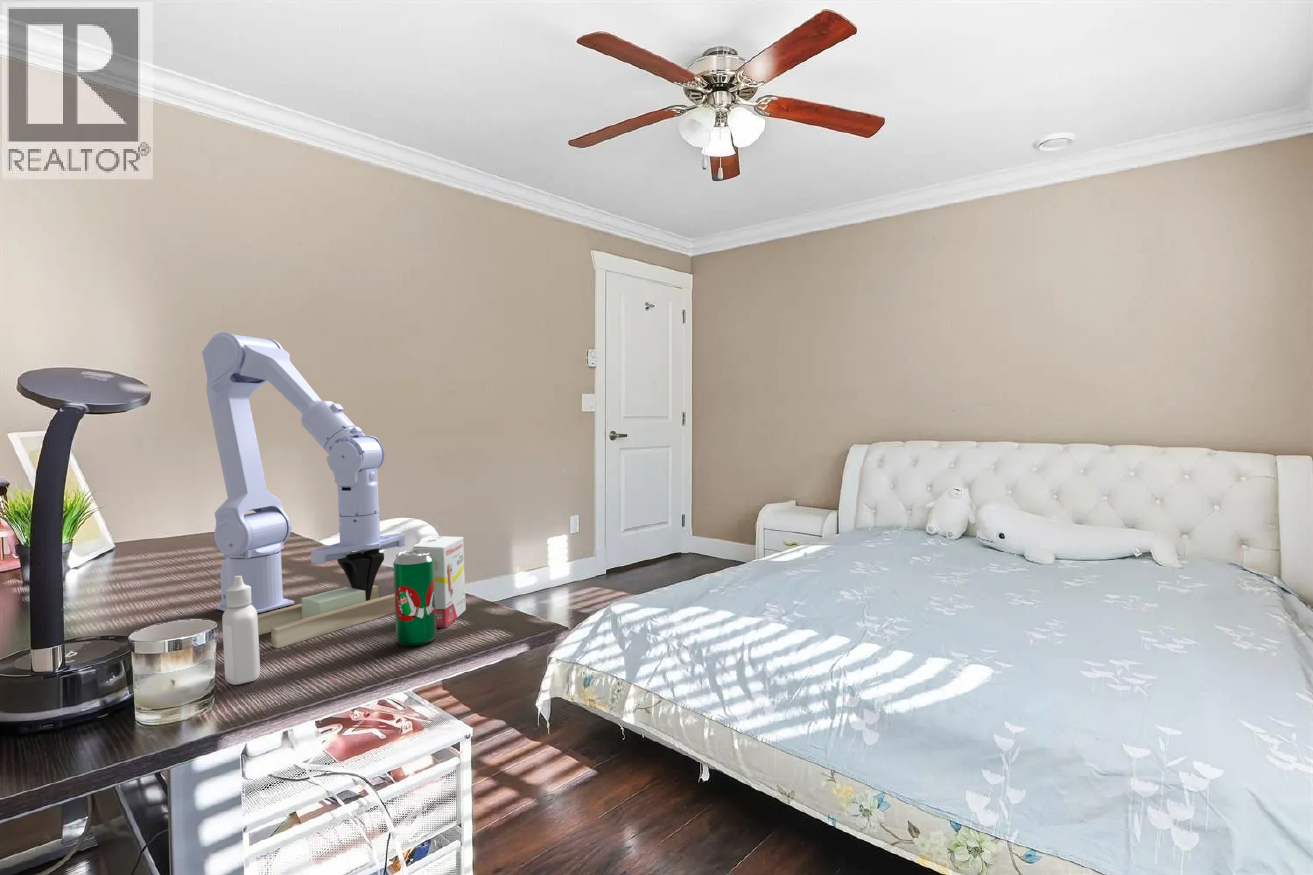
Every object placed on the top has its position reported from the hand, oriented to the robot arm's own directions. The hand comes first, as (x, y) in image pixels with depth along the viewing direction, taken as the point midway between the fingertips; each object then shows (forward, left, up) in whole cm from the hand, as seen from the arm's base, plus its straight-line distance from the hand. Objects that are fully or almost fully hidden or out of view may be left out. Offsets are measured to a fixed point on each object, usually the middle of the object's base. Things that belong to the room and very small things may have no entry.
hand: (362, 600), depth 100 cm
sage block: (0, -5, -2) cm, 5 cm away
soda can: (+19, -4, -2) cm, 20 cm away
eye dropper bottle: (+11, -22, -2) cm, 25 cm away
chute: (0, -5, -2) cm, 6 cm away
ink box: (+14, +4, -2) cm, 15 cm away
